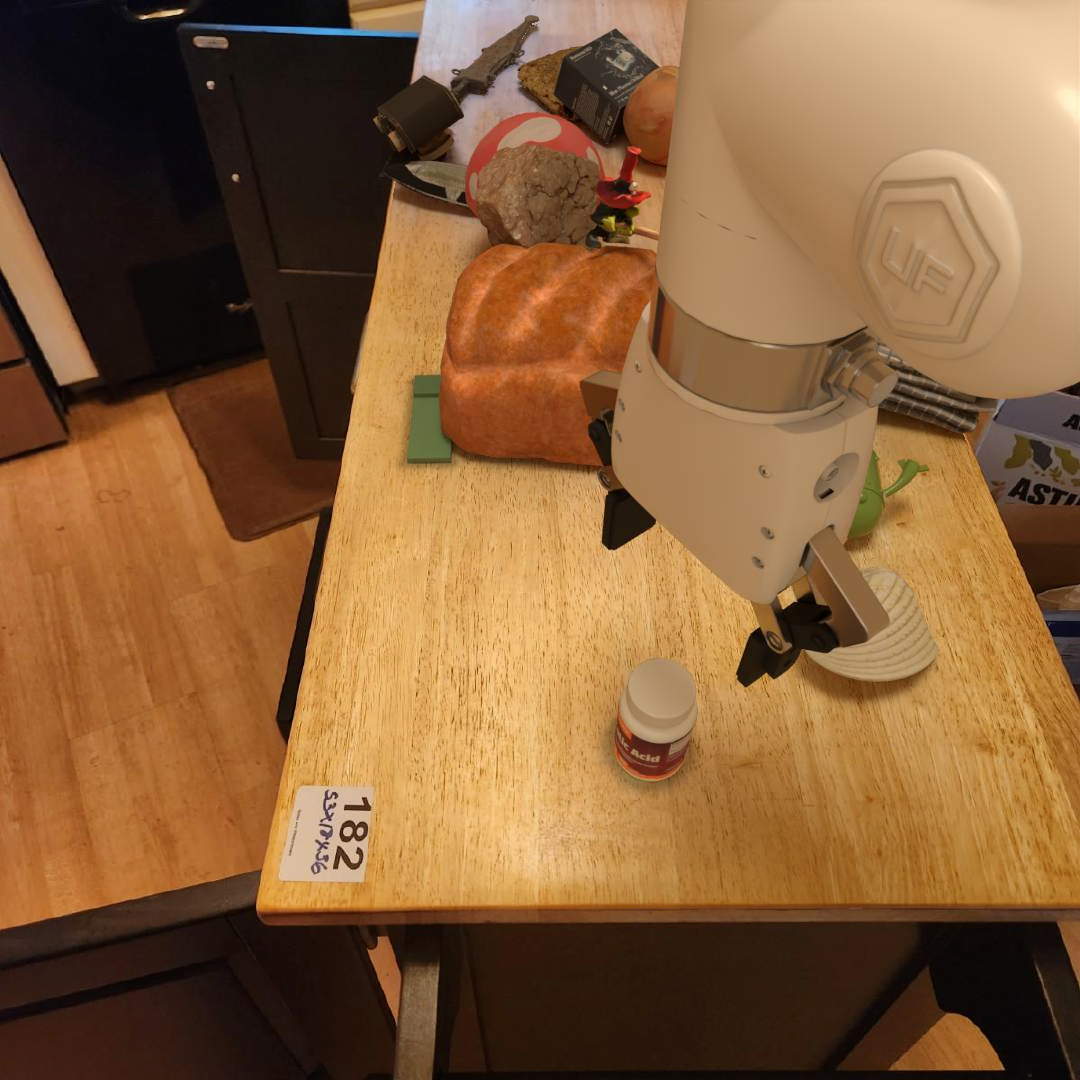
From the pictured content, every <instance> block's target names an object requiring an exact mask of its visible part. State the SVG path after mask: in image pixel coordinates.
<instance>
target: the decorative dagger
mask: <svg viewBox="0 0 1080 1080" xmlns="http://www.w3.org/2000/svg"><path fill="white" fill-rule="evenodd" d="M538 21H539V22H540V17H539V16H537V15H535V14H534V15H531V14H529V15H526V16H525V17H524V21H523V22H522V23H521V24H519V25H518V26H517V27H516V28H514V29H512V30H511V31H509V32H508V33H505V34H504V35H503V36H502V37H499V39H497V40H495V42H494V43H492V44H490V45H489V46H487V47H482V48H481V50H480V51H481V55H480V56H479V57H478V58H476V59H474V60H473V62H472V63H471V64H470V65H469V66H468V67H466V68H461V69H458V68H452V69H451V73H452V74H453V75H455V77H454V78H452V80H451V81H450V86H451V87H450V88H451V89H449V90H450V91H451V92H452V94H453V95H454V97H455V98H456V100H457V102H458V103H459V105H460V106H461V103H462V101H461V100H462V99H463V98H464V97H465V96H466V95H467V93H475V92H480V91H481V93H482V94H484V93H485V94H486V93H487V91H488V90H487V89H488V87H489V85H490V84H491V82H495V81H496V75H495V73H496V71H498V70H499V69H500V68H502V66H504V67H506V66H509V64H514V63H515V60H516V59H520V58H521V57H523V56H525V54H526V50H524V49H521V50H518V51H517V49H518V48H519V46H520V45H521V43H522V41H523V40H524V38H523V36H524V35H525V36H526V35H527V33H528V31H529V30H530V28H532V27H535V26H537V25H538V24H536V25H532V23H535V22H538ZM530 26H531V27H530ZM529 27H530V28H529ZM528 29H529V30H528ZM527 30H528V31H527ZM526 32H527V33H526ZM525 33H526V34H525ZM525 36H524V37H525ZM522 38H523V39H522ZM521 40H522V41H521Z"/></svg>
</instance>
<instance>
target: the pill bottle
mask: <svg viewBox="0 0 1080 1080" xmlns="http://www.w3.org/2000/svg"><path fill="white" fill-rule="evenodd" d="M696 697H697V683H696V681H695V679H694V677H693V675H692V674H691V672H690V671H689V670H688V669H687V668H686V667H685V666H684V665H683V664H681V663H679V661H676V660H673V659H671V658H664V657H654V658H650V659H646V660H644V661H642V662H641V663H638V665H637V666H636V667H635V668H633V670H632V671H631V673H630V675H629V677H628V680H627V684H626V685H625V686H624V688H623V690H622V691H621V693H620V696H619V701H618V706H617V717H616V722H615V731H614V738H613V739H614V740H613V752H614V756H615V758H616V761H617V763H618V765H620V767H621V768H622V770H624V771H625V772H626V773H627V774H628V775H630V776H631V777H633V778H634V779H637V780H640V781H643V782H644V781H645V782H660V781H663V780H667V779H668V778H671V777H672V776H673V775H675V774H676V773H678V771H679V770H680V768H681V767H682V766H683V764H684V761H685V759H686V757H687V752H688V750H689V745H690V742H691V738H692V735H693V732H694V728H695V725H696V722H697V720H698V714H699V709H698V707H699V706H698V701H697V698H696Z"/></svg>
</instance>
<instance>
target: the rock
mask: <svg viewBox="0 0 1080 1080" xmlns="http://www.w3.org/2000/svg"><path fill="white" fill-rule="evenodd" d="M599 180H600V175H599V165H598V164H597V163H596V162H594V161H592V160H590V159H588V158H583V157H582V156H579V157H577V156H576V154H575V153H573V152H570V153H568V152H564V151H562V150H553V149H551V148H549V147H547V146H543V145H537V144H526V143H525V144H523V145H521V146H520V147H516V148H509V147H505V148H503V149H500V150H498V151H497V152H496V153H495V154H494V156H493V157H492V158H491V160H490V162H488V163H487V164H485V166H484V167H482V168H481V170H480V171H479V175H478V184H479V189H478V190H476V204H477V208H476V210H477V212H478V214H479V218H480V219H479V218H478V219H479V221H480V223H481V225H482V226H483V227H485V228H486V230H487V239H488V241H489V244H490V246H491V248H492V247H494V246H497V245H500V244H509V245H516V246H522V247H524V248H526V249H528V248H530V247H532V246H534V245H536V244H538V243H559V244H564V245H581V246H582V247H584V248H585V249H587V250H588V251H590V252H592V250H593V248H591V247H588V246H586V244H585V240H586V235H587V234H588V232H590V230H593V229H595V227H596V226H597V224H596V223H594V222H593V221H592V220H591V219H589V218H586V217H583V216H580V215H578V214H574V213H572V212H571V210H575V211H579V212H582V213H586V214H593V213H594V212H595V209H596V207H597V203H596V200H597V190H596V189H597V184H598V182H599Z"/></svg>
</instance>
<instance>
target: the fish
mask: <svg viewBox="0 0 1080 1080" xmlns="http://www.w3.org/2000/svg"><path fill="white" fill-rule="evenodd" d="M467 167H468V164H463V163H453V162H446V161H445V162H444V161H412V162H404V163H398V164H392V165H390V166H387V167H385V168H384V174H385V175H386V176H387V177H386V178H389V179H391V180H392V181H394V182H396V183H397V184H399V185H401V186H403V187H405V188H407V189H408V190H410V191H412V192H414V193H417V194H419V195H422V196H424V197H426V198H429V199H433V200H437V201H441V202H443V203H446V204H450V205H453V206H458V207H462V208H465V209H470V210H471V208H470V207H469V206H468V204H467V202H466V194H465V176H466V171H467Z"/></svg>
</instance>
